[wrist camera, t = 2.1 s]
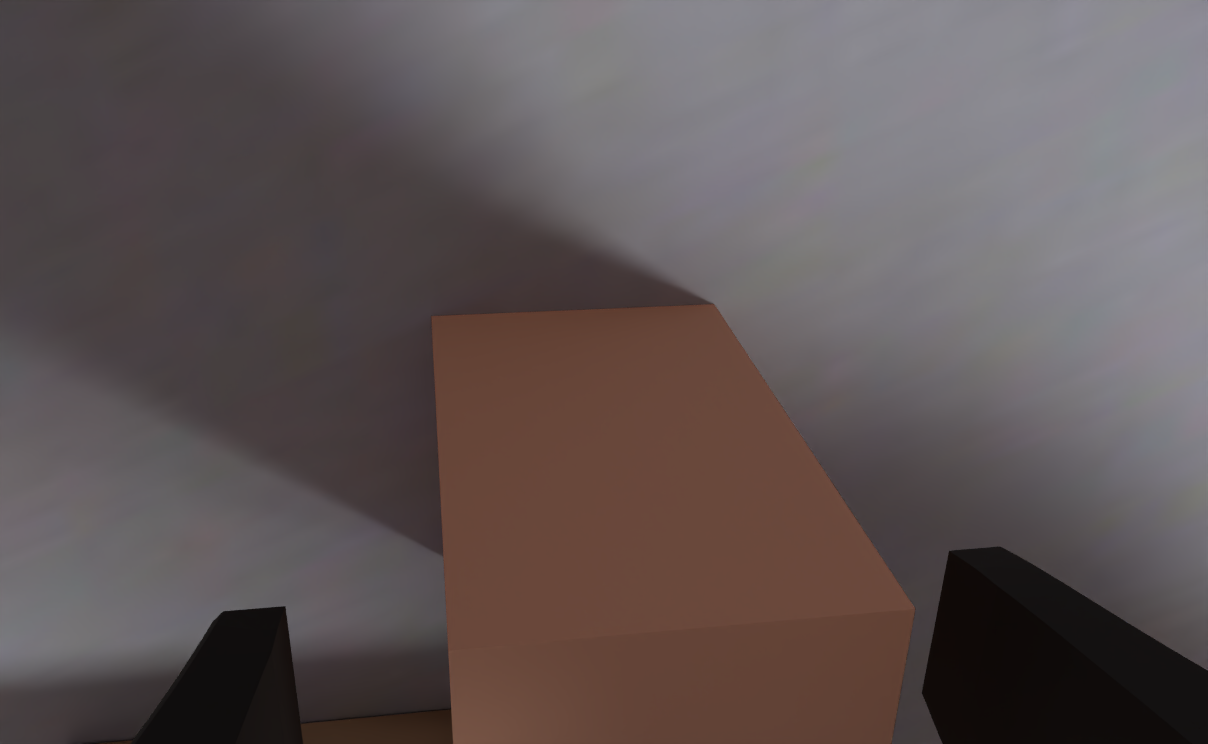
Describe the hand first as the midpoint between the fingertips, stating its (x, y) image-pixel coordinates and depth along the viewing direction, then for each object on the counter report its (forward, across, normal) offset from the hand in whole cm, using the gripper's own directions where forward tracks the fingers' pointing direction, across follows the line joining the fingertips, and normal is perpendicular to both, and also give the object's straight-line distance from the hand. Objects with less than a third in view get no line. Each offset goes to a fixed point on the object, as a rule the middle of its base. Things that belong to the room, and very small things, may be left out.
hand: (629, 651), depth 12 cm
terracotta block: (+5, 0, 0) cm, 5 cm away
